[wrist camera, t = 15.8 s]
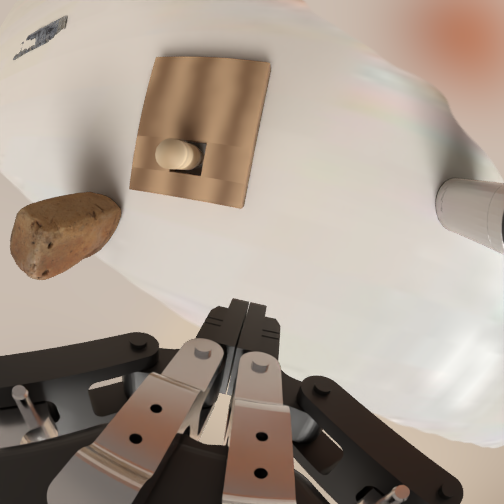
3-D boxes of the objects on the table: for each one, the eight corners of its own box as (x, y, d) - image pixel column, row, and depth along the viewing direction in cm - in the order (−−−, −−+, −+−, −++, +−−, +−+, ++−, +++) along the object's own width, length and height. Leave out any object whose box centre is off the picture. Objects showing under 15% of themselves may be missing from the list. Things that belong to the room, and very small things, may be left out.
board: (270, 70, 36) (270, 62, 33) (243, 206, 42) (240, 208, 39) (163, 63, 37) (156, 57, 34) (138, 187, 43) (129, 189, 40)
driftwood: (72, 15, 34) (67, 12, 32) (64, 37, 36) (58, 35, 34) (23, 40, 36) (18, 38, 33) (16, 60, 37) (11, 59, 35)
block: (101, 185, 43) (16, 198, 24) (129, 209, 44) (46, 234, 25) (79, 233, 46) (2, 263, 27) (105, 256, 47) (30, 298, 28)
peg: (208, 147, 40) (187, 139, 30) (204, 171, 41) (181, 171, 31) (184, 144, 40) (157, 136, 31) (180, 168, 41) (152, 167, 32)
